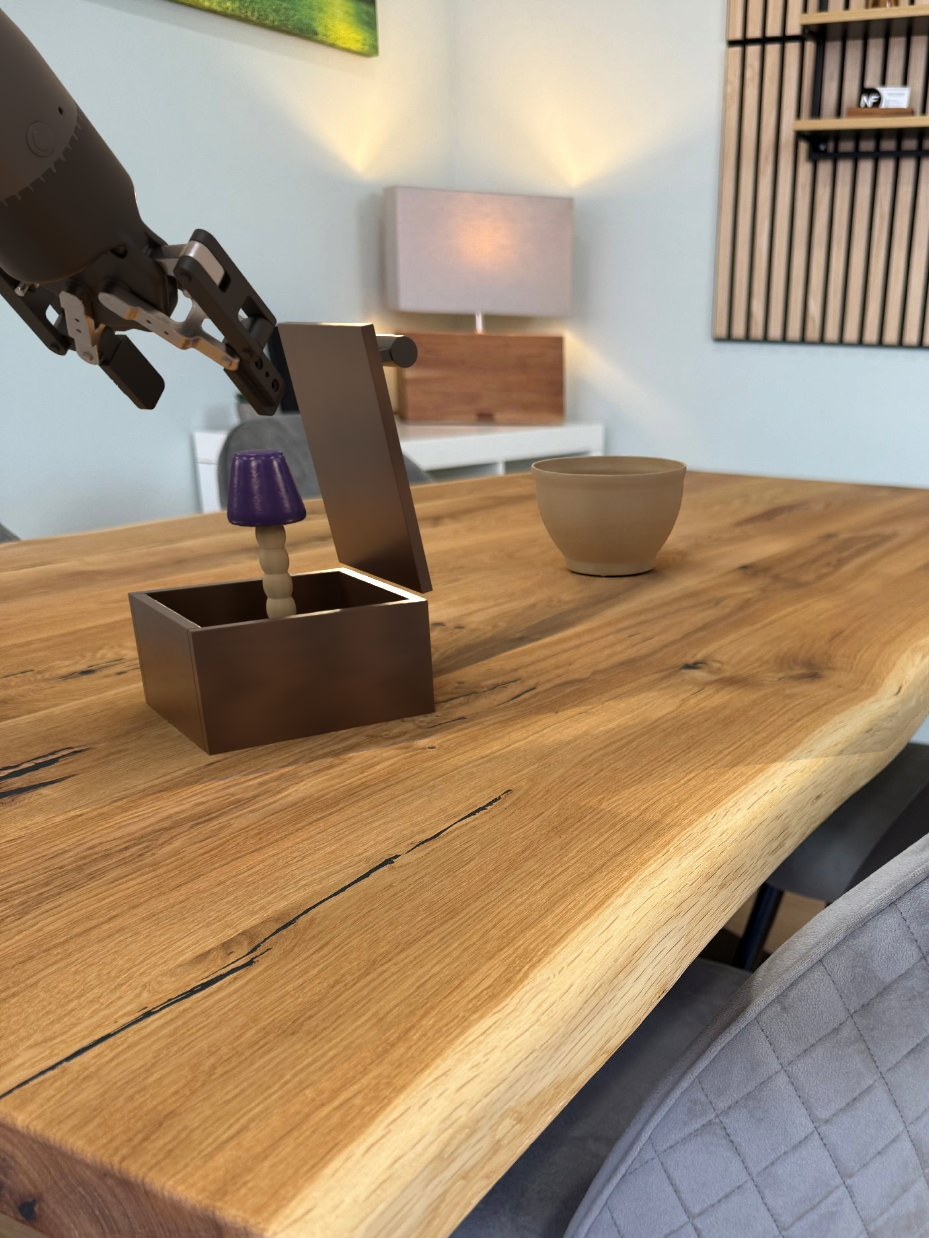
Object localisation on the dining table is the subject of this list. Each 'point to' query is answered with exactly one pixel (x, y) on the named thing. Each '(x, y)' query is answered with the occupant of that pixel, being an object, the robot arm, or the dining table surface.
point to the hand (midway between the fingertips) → (213, 401)
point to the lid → (358, 444)
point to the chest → (282, 658)
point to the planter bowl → (609, 509)
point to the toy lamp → (267, 517)
